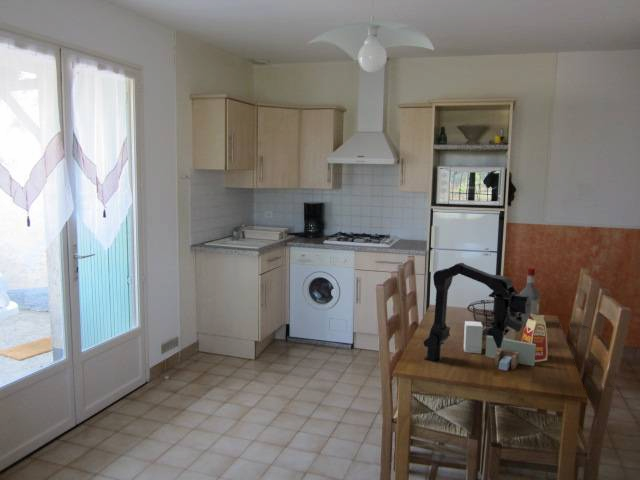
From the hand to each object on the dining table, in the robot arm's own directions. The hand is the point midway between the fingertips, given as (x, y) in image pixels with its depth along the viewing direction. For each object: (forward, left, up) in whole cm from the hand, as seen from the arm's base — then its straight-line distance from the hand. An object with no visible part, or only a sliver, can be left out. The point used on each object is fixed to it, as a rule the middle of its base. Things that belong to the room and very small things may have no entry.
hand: (498, 347), depth 205 cm
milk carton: (+30, -8, -12) cm, 33 cm away
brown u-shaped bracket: (+15, 0, -12) cm, 19 cm away
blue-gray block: (+13, 0, -12) cm, 18 cm away
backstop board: (+21, 0, -12) cm, 24 cm away
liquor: (+80, +4, -12) cm, 81 cm away
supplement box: (+24, +17, -12) cm, 32 cm away
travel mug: (+43, +7, -12) cm, 45 cm away
